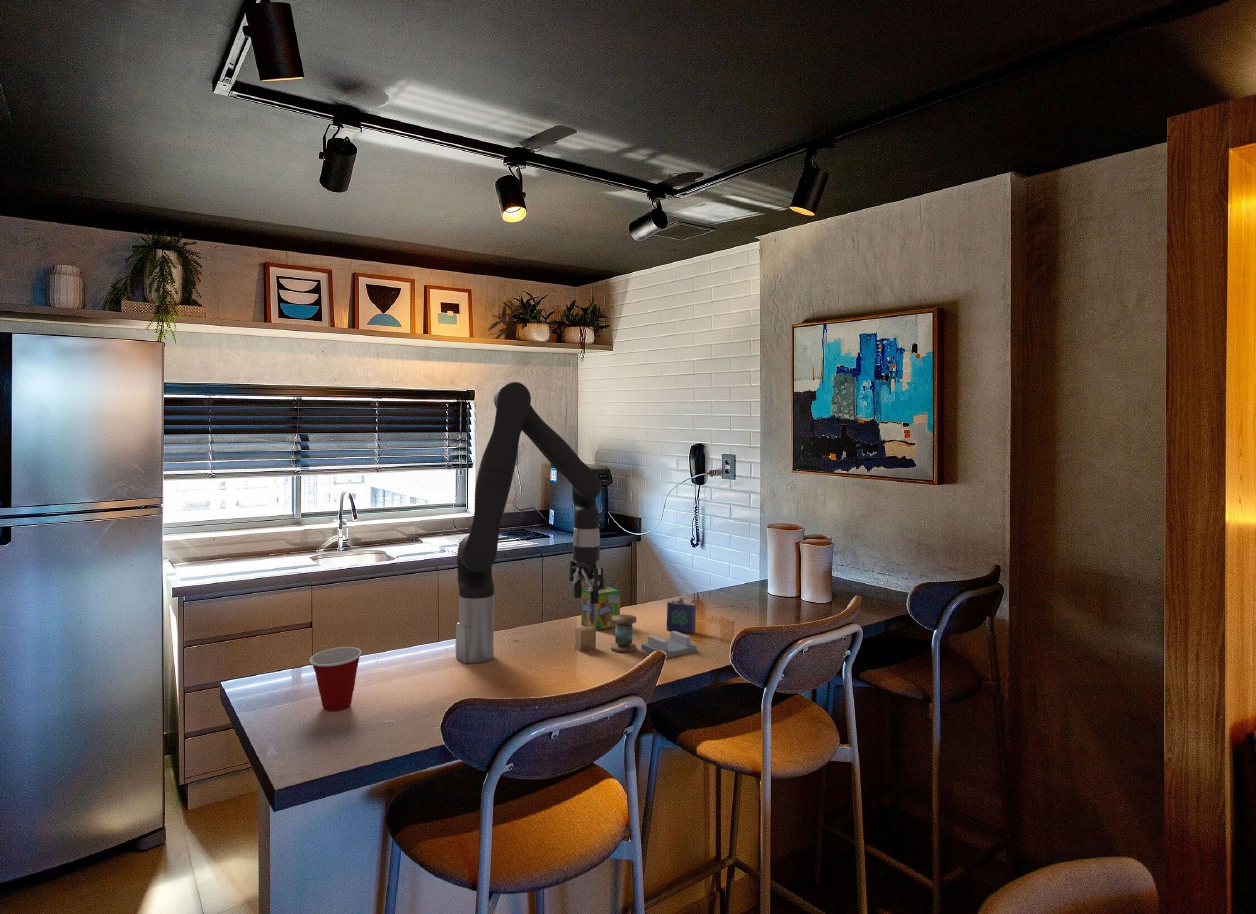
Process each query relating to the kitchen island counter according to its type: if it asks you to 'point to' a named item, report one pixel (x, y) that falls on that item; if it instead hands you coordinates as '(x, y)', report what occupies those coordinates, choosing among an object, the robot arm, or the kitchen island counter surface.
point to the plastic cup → (336, 676)
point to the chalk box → (600, 608)
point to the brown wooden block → (585, 638)
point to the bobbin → (623, 633)
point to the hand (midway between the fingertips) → (585, 600)
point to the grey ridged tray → (670, 644)
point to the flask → (681, 616)
